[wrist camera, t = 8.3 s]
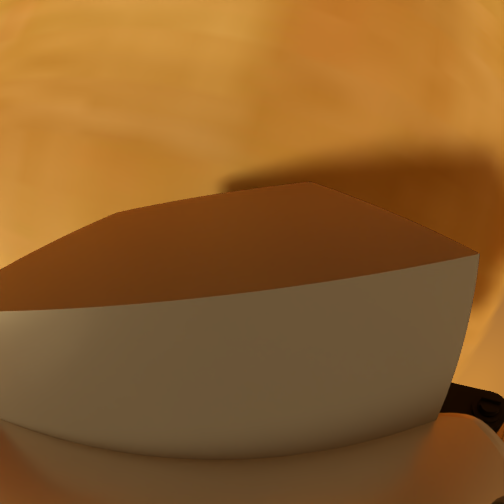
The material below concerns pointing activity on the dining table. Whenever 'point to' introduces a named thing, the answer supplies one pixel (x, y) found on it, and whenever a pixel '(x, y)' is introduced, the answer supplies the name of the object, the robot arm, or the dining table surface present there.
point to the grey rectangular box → (235, 326)
